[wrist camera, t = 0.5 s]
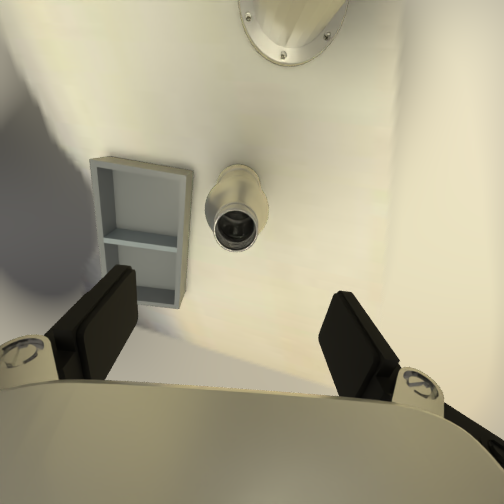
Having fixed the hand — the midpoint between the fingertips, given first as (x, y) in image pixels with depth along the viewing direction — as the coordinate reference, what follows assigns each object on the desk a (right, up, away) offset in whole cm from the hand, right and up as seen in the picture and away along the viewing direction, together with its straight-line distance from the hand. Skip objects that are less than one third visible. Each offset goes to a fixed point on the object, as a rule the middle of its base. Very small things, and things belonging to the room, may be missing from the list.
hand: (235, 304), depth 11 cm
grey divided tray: (-16, +6, +28) cm, 33 cm away
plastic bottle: (-1, +13, +26) cm, 29 cm away
